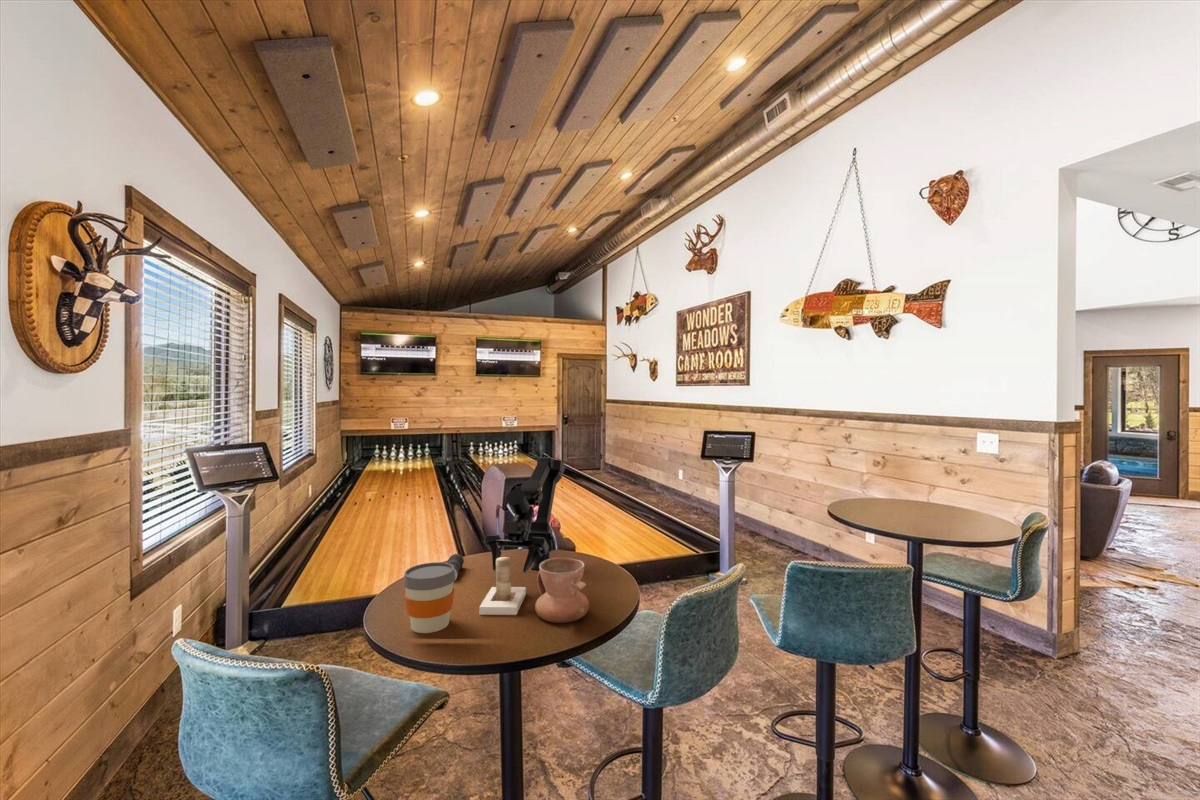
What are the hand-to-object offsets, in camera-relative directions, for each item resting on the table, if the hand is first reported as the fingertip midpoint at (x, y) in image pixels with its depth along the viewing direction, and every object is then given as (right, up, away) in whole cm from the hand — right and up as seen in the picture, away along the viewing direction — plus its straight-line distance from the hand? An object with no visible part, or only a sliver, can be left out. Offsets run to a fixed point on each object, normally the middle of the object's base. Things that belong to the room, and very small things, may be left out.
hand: (509, 571), depth 148 cm
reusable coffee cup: (-17, -9, -16) cm, 26 cm away
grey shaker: (-22, -9, +21) cm, 32 cm away
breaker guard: (-1, -9, -4) cm, 10 cm away
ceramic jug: (+16, -9, -10) cm, 21 cm away
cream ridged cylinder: (-1, -7, -4) cm, 8 cm away
